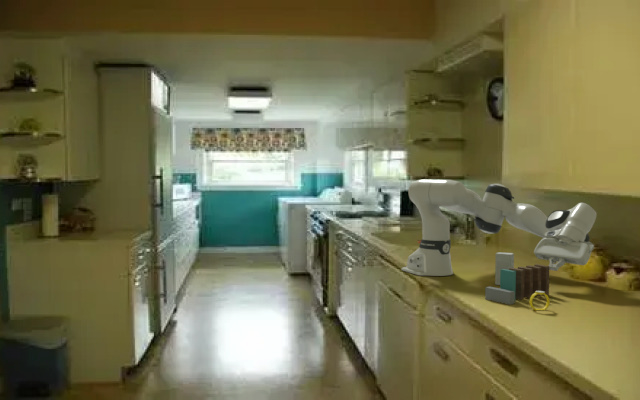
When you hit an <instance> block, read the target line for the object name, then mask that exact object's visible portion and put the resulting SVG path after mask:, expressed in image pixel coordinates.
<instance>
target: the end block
mask: <svg viewBox="0 0 640 400" xmlns="http://www.w3.org/2000/svg"><path fill="white" fill-rule="evenodd" d="M484 290H485V295H484V296H485V297H484V300H488V301H491V300H492V301H491V302H497V303H500V302H501V303H500V304H504V303H505V305H515V301H516V299H515V292H514V291H510V290H505V289H500V287H499V288H498V287H493V286H485V289H484ZM514 300H515V301H514Z"/></svg>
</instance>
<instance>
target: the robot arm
mask: <svg viewBox="0 0 640 400" xmlns="http://www.w3.org/2000/svg"><path fill="white" fill-rule="evenodd" d="M408 198H409V200H410V202H412V203H413V204H414V205H415V206H416V208H417V210H418V212H419V215H420V218H421V225H422V227H421V229H422V230H421V232H422V233H421V234H422V239H420V240H419V239H418V240H417V244H419V246H418V248H417V249H416V250H415V251H413V253H411V254H410V255H408V257H407V261H406V262H407V265H406V266H403V267H401V271H403V272H406V273H410V274H413V275H417V276H432V277H439V276H440V277H441V276H442V277H443V276H444V277H445V276H451V275H454V272H453V266H452V259H451V258H452V257H451V247H452V246H451V245H452V243H451V239H450V236H451V235H450V232H451V231H450V230H451V223H450V220H449V219H448V217H446V216H445V215H444V214H443V213H442V211H441V208H440V207H443V208H445V209H447V210H448V211H451V212H452V211H453V212H456V213H459V214H463V215H464V214H465V215H473V216H474V217H475V218H472V221H474V223H475V226H476V228H478V230H480V231H481V232H482V233H485V234H488V235H493V234H499V232H500V231H501V229H502V225H503V222H504V220H505V221H506V222H507V223H508V224H509V225H510V226H512V227H514V228H515V229H518V230H522V231H525V232H527V233H531V234H533V235H534V236H538V237H541V240H539V242H538V243H537V244H536V246H535V248H534V250H533V253H534V256H535V257H536V258H537V259H538V260H544V261H549V264H548V266H549V271H556V272H558V270H559V269H560V268H561V267H563V266H564V265H565V264H571V265H579V266H585V265H587V263H588V262H589V260H590V257H591V255H592V252H593V250H594V249H595V243H592V242H591V241H590V235H589V232H591V230H592V228H593V226H594V224H595V222H596V219H597V211H596V210H595V209H594V208H593V207H592V206H591V205H590V204H588V203H585V202H578V203H577V204H575V206H573V207H572V208H570V209H557V210H553V211H552V212H551V213H549V215H548V216H547V215H546V214H545V213H544V212H543V211H542V210H541V209H540V208H538V207H536V206H535V205H532V204H530V203H523V202H521V203H518V202H514V201H513V200H514V199H515V197H514V196H513V193H512V192H511V190H510V188H508V187H507V186H505V185H503V184H502V183H490V184H488V185H487V188H486V189H485V193H484V195H483V198H482V197H481V196H480V195H479V194H478V193H477V192H476V191H474V190H472V189H470V188H467V187H465V185H464V183H463V182H461V181H458V180H453V179H436V178H434V179H433V178H432V179H431V178H428V179H427V178H423V179H421V178H420V179H417V180H414V181H412V182H411V183H410V185H409V187H408Z"/></svg>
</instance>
